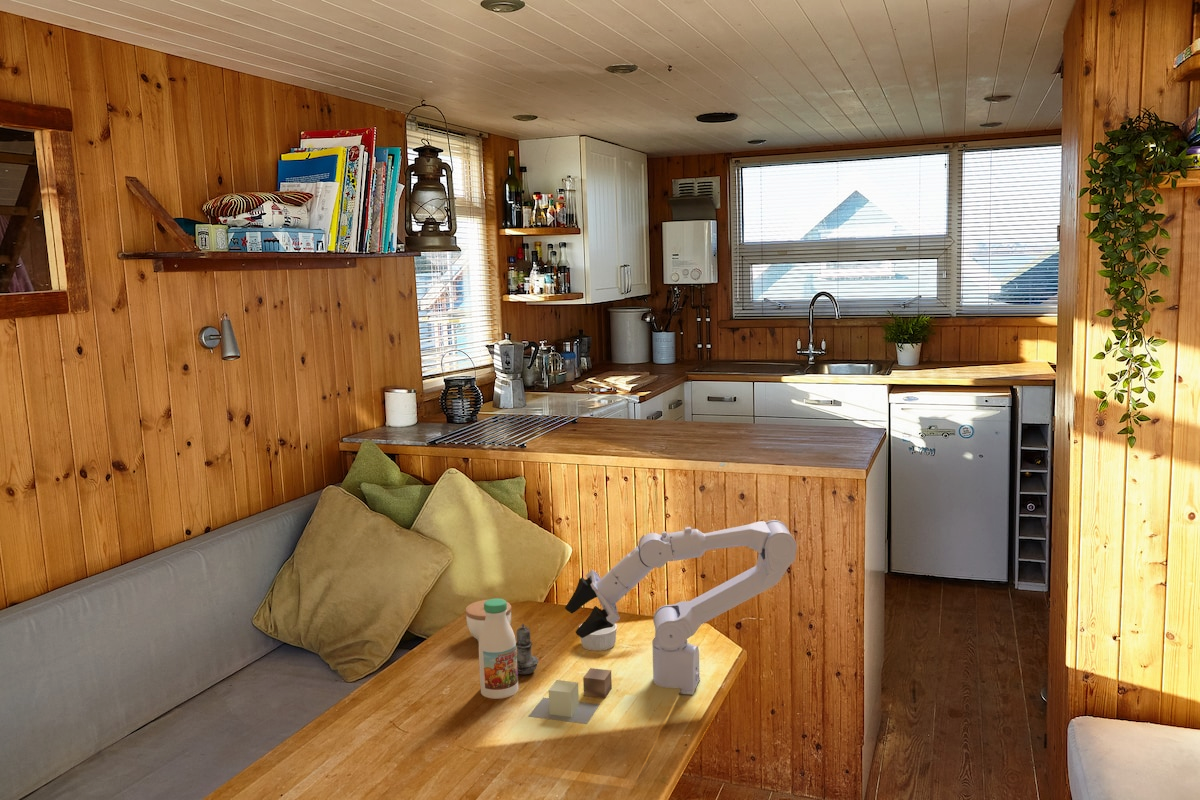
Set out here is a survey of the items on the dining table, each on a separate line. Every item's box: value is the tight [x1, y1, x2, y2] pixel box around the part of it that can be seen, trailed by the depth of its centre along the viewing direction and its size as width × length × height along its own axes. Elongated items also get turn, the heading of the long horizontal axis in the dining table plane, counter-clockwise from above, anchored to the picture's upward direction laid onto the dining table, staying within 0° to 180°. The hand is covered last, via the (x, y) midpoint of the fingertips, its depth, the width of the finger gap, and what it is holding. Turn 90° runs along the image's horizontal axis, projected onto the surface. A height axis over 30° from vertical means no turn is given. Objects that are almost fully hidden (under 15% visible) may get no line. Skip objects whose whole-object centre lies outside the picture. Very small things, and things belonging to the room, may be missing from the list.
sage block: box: [548, 679, 580, 717], centre depth 183 cm, size 4×4×5 cm
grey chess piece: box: [516, 623, 539, 675], centre depth 200 cm, size 6×6×12 cm
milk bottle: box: [478, 598, 519, 700], centre depth 192 cm, size 8×8×20 cm
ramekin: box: [578, 622, 618, 652], centre depth 217 cm, size 9×9×4 cm
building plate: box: [528, 697, 601, 725], centre depth 184 cm, size 12×8×1 cm, turn 72°
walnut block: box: [582, 667, 613, 699], centre depth 191 cm, size 4×4×5 cm
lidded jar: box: [465, 598, 512, 643], centre depth 221 cm, size 11×11×9 cm
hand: (573, 622), depth 194 cm, fingers open, 7 cm apart
